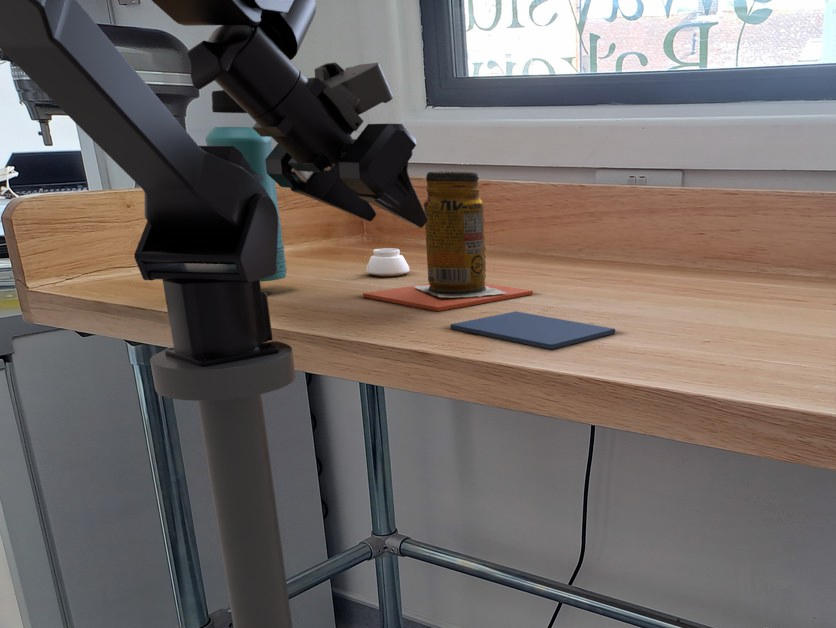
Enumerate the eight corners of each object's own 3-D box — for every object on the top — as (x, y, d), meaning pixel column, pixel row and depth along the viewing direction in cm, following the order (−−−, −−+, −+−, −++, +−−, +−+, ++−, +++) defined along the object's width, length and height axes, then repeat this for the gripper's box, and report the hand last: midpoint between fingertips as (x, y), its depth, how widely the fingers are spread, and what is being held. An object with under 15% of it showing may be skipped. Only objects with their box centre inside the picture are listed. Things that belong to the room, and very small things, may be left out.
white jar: (362, 277, 101) (404, 277, 101) (360, 252, 100) (402, 252, 100) (373, 271, 106) (413, 271, 106) (371, 247, 105) (411, 247, 105)
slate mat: (551, 349, 67) (551, 344, 67) (450, 328, 74) (450, 324, 74) (615, 333, 73) (615, 328, 73) (515, 315, 80) (515, 311, 80)
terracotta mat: (438, 311, 82) (437, 307, 82) (362, 297, 89) (362, 293, 89) (532, 294, 91) (532, 290, 91) (458, 282, 98) (457, 279, 98)
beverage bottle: (277, 284, 96) (253, 92, 89) (299, 292, 91) (276, 89, 84) (217, 290, 92) (187, 89, 85) (237, 299, 87) (207, 87, 80)
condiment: (476, 283, 95) (471, 170, 91) (507, 294, 88) (503, 172, 84) (413, 288, 92) (404, 171, 88) (440, 300, 85) (432, 173, 81)
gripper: (387, 15, 68) (501, 160, 79) (282, 34, 81) (393, 157, 92) (305, 118, 65) (434, 253, 76) (209, 121, 78) (332, 237, 89)
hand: (397, 220), depth 83 cm, fingers open, 9 cm apart
